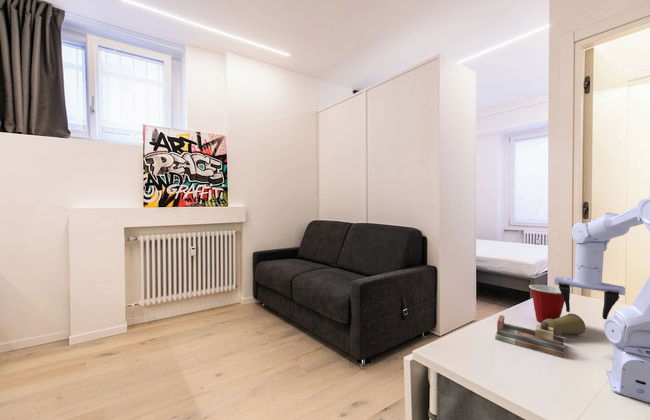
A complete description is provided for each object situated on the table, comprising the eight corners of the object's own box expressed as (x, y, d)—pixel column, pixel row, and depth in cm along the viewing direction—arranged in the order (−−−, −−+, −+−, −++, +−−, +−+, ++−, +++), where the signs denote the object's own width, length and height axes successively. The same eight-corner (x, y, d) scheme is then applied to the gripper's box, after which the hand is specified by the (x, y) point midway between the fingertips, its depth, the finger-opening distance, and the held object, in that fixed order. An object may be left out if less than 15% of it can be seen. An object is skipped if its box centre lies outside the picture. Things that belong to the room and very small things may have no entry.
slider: (552, 340, 85) (553, 322, 84) (552, 346, 81) (553, 327, 81) (535, 336, 87) (536, 318, 87) (534, 341, 84) (535, 323, 83)
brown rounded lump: (585, 337, 89) (556, 343, 87) (564, 328, 95) (537, 333, 92) (586, 318, 88) (557, 323, 86) (565, 310, 94) (537, 314, 92)
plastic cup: (557, 317, 104) (559, 283, 103) (574, 331, 93) (576, 294, 92) (522, 313, 106) (523, 281, 106) (534, 326, 96) (536, 290, 95)
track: (563, 343, 85) (564, 327, 85) (564, 357, 78) (565, 339, 78) (499, 328, 95) (500, 312, 95) (495, 339, 88) (495, 322, 87)
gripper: (623, 267, 80) (619, 316, 81) (555, 260, 89) (553, 304, 90) (627, 273, 74) (624, 325, 75) (555, 264, 83) (552, 311, 84)
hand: (585, 314), depth 82 cm, fingers open, 7 cm apart
